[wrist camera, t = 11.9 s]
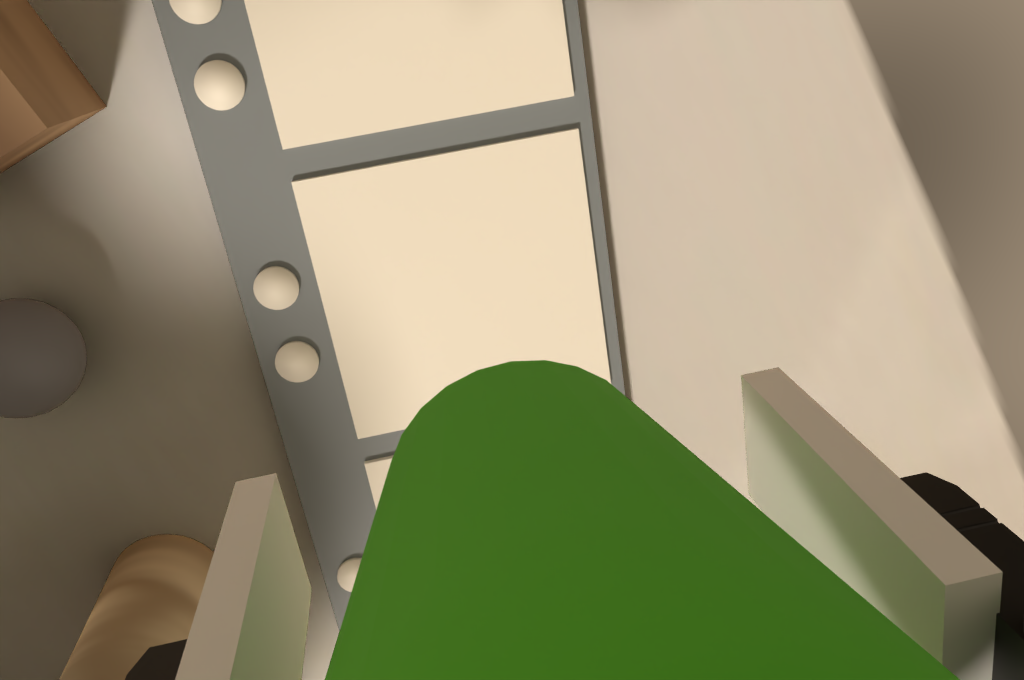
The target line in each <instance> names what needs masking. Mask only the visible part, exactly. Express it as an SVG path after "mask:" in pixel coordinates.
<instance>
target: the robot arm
mask: <svg viewBox="0 0 1024 680" xmlns="http://www.w3.org/2000/svg"><path fill="white" fill-rule="evenodd" d="M741 381H742V397H743V413H744V428H745V444H746V460H747V476H748V492H749V495H750V496H751V497H752V499H753V500H754V501H755V503H756V504H757V505H758V507H759V508H760V509H761V511H762V512H763V513H764V514H765V515H766V516H768V517H769V518H770V519H771V520H772V521H773V522H775V523H776V524H777V525H778V526H779V527H781V528H782V529H783V530H784V531H785V532H786V533H788V534H789V535H790V536H791V537H792V538H794V539H795V540H796V541H797V542H798V543H799V544H801V545H802V546H803V547H804V548H805V549H807V550H808V551H809V552H810V553H811V554H812V555H814V556H815V557H816V558H817V559H818V560H820V561H821V562H822V563H823V564H824V565H825V566H827V567H828V568H829V569H830V570H831V571H832V572H834V573H835V574H836V575H837V576H838V577H840V578H841V579H842V580H843V581H844V582H845V583H847V584H848V585H849V586H850V587H851V588H853V589H854V590H855V591H856V592H857V593H858V594H860V595H861V596H862V597H863V598H864V599H866V600H867V601H868V602H869V603H870V604H871V605H873V606H874V607H875V608H876V609H877V610H879V611H880V612H881V613H882V614H883V615H884V616H886V617H887V618H888V619H889V620H890V621H892V622H893V623H894V624H895V625H896V626H897V627H899V628H900V629H901V630H902V631H903V632H905V633H906V634H907V635H908V636H909V637H910V638H912V639H913V640H914V641H915V642H916V643H917V644H919V645H920V646H921V647H922V648H923V649H925V650H926V651H927V652H928V653H929V654H930V655H932V656H933V657H934V658H935V659H936V660H938V661H939V662H940V663H941V664H942V665H943V666H945V667H946V668H947V669H948V670H949V671H951V672H952V673H953V674H954V675H955V676H956V677H958V678H959V679H960V680H1024V541H1023V540H1022V539H1020V538H1019V537H1018V536H1017V535H1016V534H1014V533H1013V532H1012V531H1011V530H1010V529H1008V528H1007V527H1006V526H1005V525H1004V524H1002V523H1000V524H999V523H998V521H997V519H996V518H995V517H994V516H993V515H992V514H990V513H989V512H988V511H987V510H986V509H984V508H980V506H979V504H978V503H977V502H976V501H975V500H974V499H972V498H971V497H970V496H969V495H968V494H966V493H965V492H964V491H963V490H962V489H960V488H959V487H958V486H956V485H954V484H952V483H950V482H947V481H945V480H943V479H940V478H938V477H936V476H933V475H931V474H929V473H927V472H926V473H921V474H917V475H912V476H908V477H903V478H899V477H898V476H897V475H896V474H895V473H894V472H892V471H891V470H890V469H889V468H888V467H887V466H886V465H885V464H884V463H883V462H881V461H880V460H879V459H878V458H877V457H876V456H875V455H874V454H873V453H872V452H870V451H869V450H868V449H867V448H866V447H865V446H864V445H863V444H862V443H861V442H860V441H858V440H857V439H856V438H855V437H854V436H853V435H852V434H851V433H850V432H849V431H847V430H846V429H845V428H844V427H843V426H842V425H841V424H840V423H839V422H838V421H837V420H835V419H834V418H833V417H832V416H831V415H830V414H829V413H828V412H827V411H826V410H824V409H823V408H822V407H821V406H820V405H819V404H818V403H817V402H816V401H815V400H814V399H812V398H811V397H810V396H809V395H808V394H807V393H806V392H805V391H804V390H803V389H801V388H800V387H799V386H798V385H797V384H796V383H795V382H794V381H793V380H792V379H790V378H789V377H788V376H787V375H786V374H785V373H784V372H783V371H782V370H781V369H780V368H773V369H768V370H764V371H759V372H754V373H749V374H745V375H741ZM311 593H312V588H311V585H310V582H309V579H308V575H307V572H306V569H305V566H304V562H303V559H302V556H301V553H300V549H299V546H298V543H297V540H296V536H295V533H294V530H293V527H292V523H291V520H290V517H289V514H288V510H287V507H286V504H285V500H284V497H283V494H282V491H281V487H280V484H279V481H278V478H277V474H276V473H274V474H269V475H264V476H260V477H255V478H250V479H245V480H241V481H236V482H235V485H234V488H233V492H232V495H231V498H230V501H229V505H228V508H227V511H226V515H225V518H224V521H223V524H222V528H221V531H220V534H219V537H218V541H217V544H216V547H215V551H214V554H213V557H212V560H211V564H210V567H209V570H208V573H207V577H206V580H205V583H204V587H203V590H202V593H201V596H200V600H199V603H198V606H197V610H196V613H195V616H194V619H193V623H192V626H191V629H190V632H189V636H188V639H185V640H180V641H176V642H171V643H167V644H162V645H158V646H153V647H149V648H148V650H147V651H146V652H145V653H144V654H143V656H142V657H141V658H140V659H139V660H138V662H137V663H136V664H135V665H134V666H133V668H132V669H131V670H130V671H129V672H128V674H127V675H126V678H125V680H301V678H302V670H303V661H304V653H305V644H306V636H307V627H308V619H309V610H310V602H311Z"/></svg>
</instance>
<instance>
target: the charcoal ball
mask: <svg viewBox="0 0 1024 680" xmlns="http://www.w3.org/2000/svg"><path fill="white" fill-rule="evenodd" d="M86 363H87V353H86V346H85V343H84V339H83V337H82V335H81V333H80V331H79V330H78V328H77V326H76V325H75V324H74V323H73V321H72V320H71V319H70V318H69V317H68V316H66V315H65V314H64V313H63V312H61V311H60V310H58V309H56V308H55V307H53V306H51V305H48V304H46V303H43V302H40V301H36V300H32V299H6V300H1V301H0V416H1V417H7V418H27V417H33V416H37V415H40V414H44V413H46V412H49V411H51V410H53V409H54V408H56V407H58V406H60V405H61V404H62V403H64V402H65V401H66V400H67V399H68V398H69V397H70V396H71V395H72V394H73V393H74V392H75V390H76V389H77V388H78V386H79V384H80V382H81V380H82V379H83V376H84V373H85V369H86Z"/></svg>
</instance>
